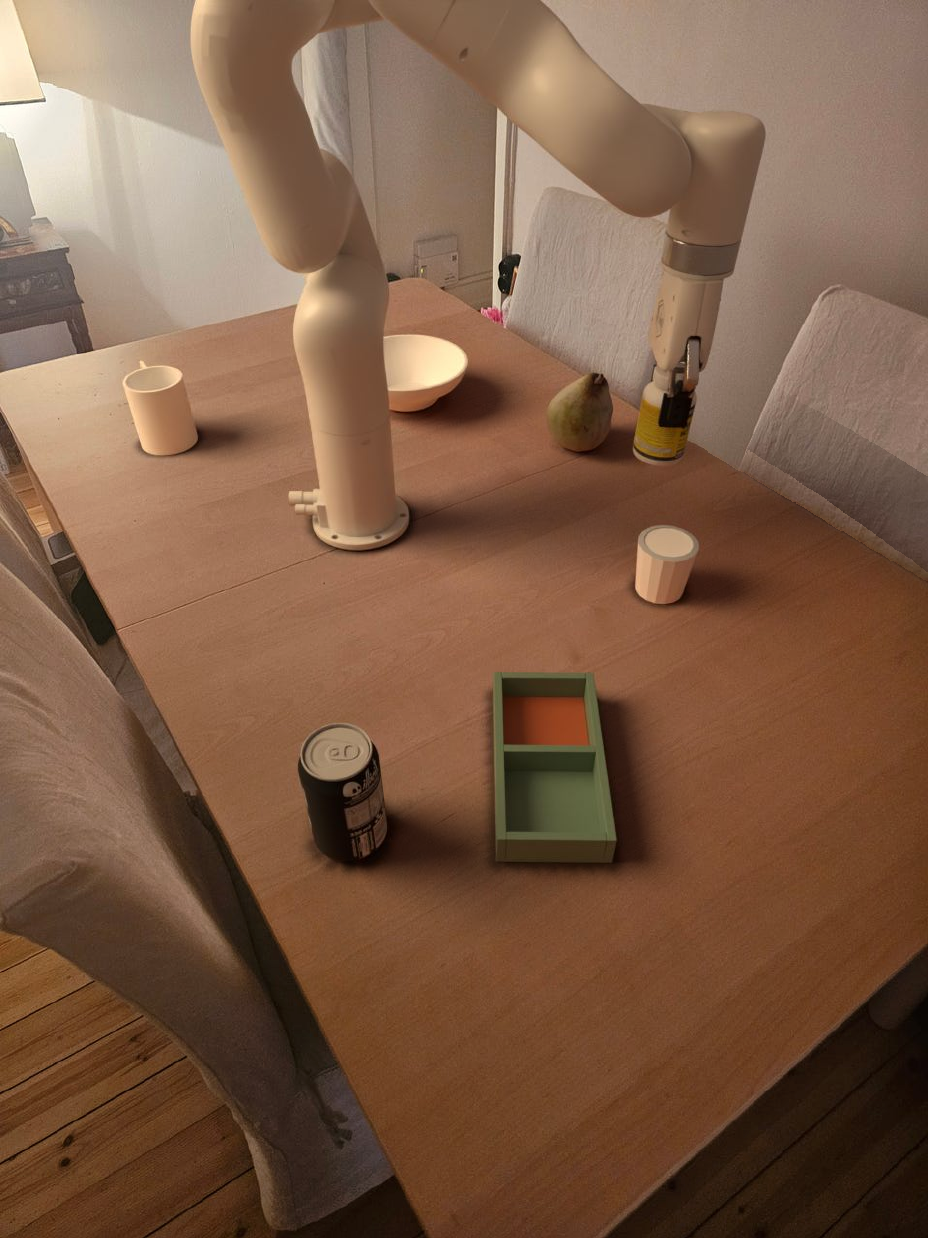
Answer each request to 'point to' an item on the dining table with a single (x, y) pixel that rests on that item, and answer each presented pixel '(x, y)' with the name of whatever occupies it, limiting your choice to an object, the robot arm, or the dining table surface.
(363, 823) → the beverage can
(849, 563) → the dining table surface
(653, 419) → the pill bottle
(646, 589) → the cream faceted tub
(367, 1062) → the dining table surface
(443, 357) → the bowl
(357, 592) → the dining table surface
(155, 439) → the cup
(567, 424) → the fruit
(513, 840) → the tray
